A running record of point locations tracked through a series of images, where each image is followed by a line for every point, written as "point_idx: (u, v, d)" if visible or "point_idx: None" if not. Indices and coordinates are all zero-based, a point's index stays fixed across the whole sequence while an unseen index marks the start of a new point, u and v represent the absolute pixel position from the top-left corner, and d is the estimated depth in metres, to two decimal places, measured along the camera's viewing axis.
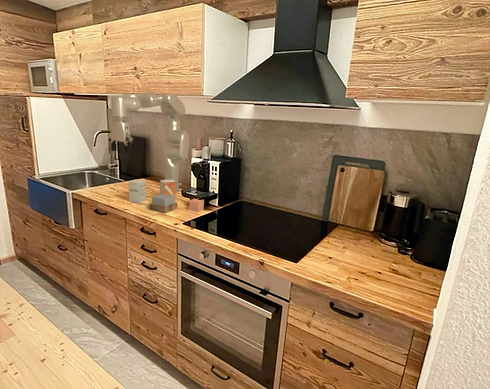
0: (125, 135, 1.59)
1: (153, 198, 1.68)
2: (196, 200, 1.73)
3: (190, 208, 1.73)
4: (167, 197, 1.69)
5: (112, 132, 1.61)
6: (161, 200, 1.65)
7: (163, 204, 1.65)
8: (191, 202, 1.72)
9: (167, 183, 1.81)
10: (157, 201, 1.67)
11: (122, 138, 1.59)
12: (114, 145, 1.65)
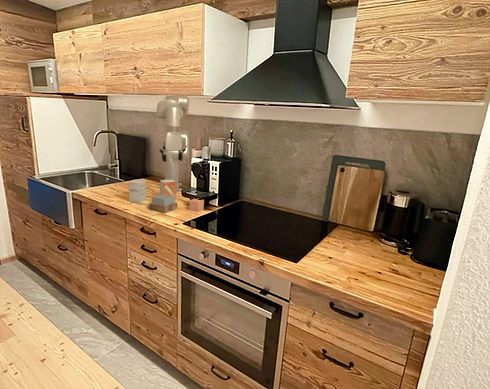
0: None
1: (153, 198, 1.68)
2: (196, 200, 1.73)
3: (190, 208, 1.73)
4: (167, 197, 1.69)
5: (169, 142, 1.60)
6: (161, 200, 1.65)
7: (163, 204, 1.65)
8: (191, 202, 1.72)
9: (167, 183, 1.81)
10: (157, 201, 1.67)
11: (180, 147, 1.65)
12: None
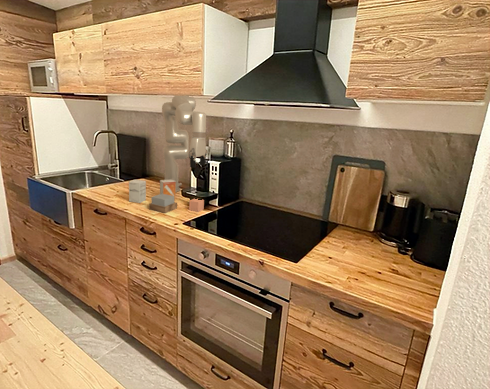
0: None
1: (153, 198, 1.68)
2: (196, 200, 1.73)
3: (190, 208, 1.73)
4: (167, 197, 1.69)
5: (198, 148, 1.62)
6: (161, 200, 1.66)
7: (163, 204, 1.66)
8: (191, 202, 1.72)
9: (167, 183, 1.81)
10: (157, 201, 1.67)
11: (205, 152, 1.69)
12: None
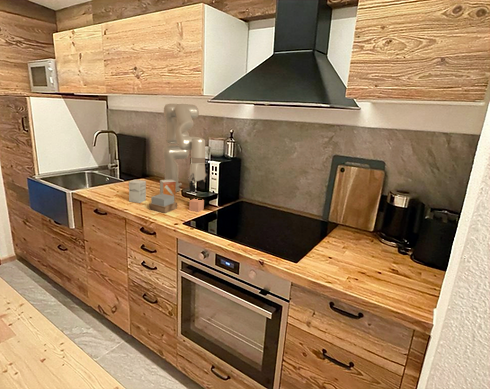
0: None
1: (152, 198, 1.68)
2: (196, 200, 1.73)
3: (190, 208, 1.73)
4: (166, 197, 1.69)
5: (198, 173, 1.65)
6: (160, 200, 1.66)
7: (162, 204, 1.66)
8: (191, 202, 1.72)
9: (167, 183, 1.81)
10: (156, 201, 1.67)
11: (204, 176, 1.72)
12: None
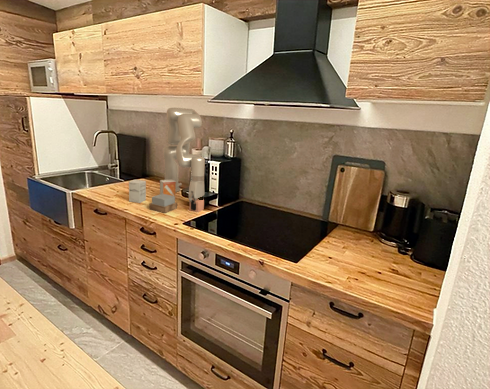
0: None
1: (153, 198, 1.68)
2: (196, 200, 1.73)
3: (190, 208, 1.73)
4: (167, 197, 1.69)
5: (197, 191, 1.68)
6: (161, 200, 1.65)
7: (163, 204, 1.65)
8: None
9: (167, 183, 1.81)
10: (157, 201, 1.67)
11: (203, 193, 1.75)
12: None
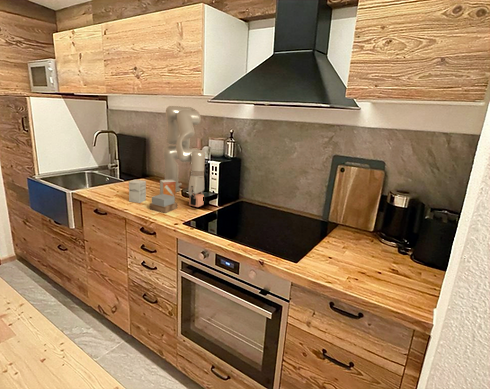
0: None
1: (153, 198, 1.68)
2: (196, 195, 1.72)
3: (190, 203, 1.72)
4: (167, 197, 1.69)
5: (197, 186, 1.68)
6: (160, 200, 1.65)
7: (162, 204, 1.65)
8: None
9: (167, 183, 1.81)
10: (157, 201, 1.67)
11: (203, 188, 1.74)
12: None
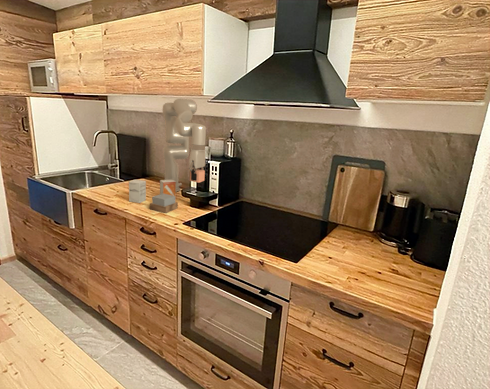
0: None
1: (153, 198, 1.68)
2: (197, 170, 1.69)
3: (190, 178, 1.68)
4: (167, 197, 1.69)
5: (198, 160, 1.64)
6: (161, 200, 1.66)
7: (163, 204, 1.66)
8: None
9: (167, 183, 1.81)
10: (157, 201, 1.67)
11: (204, 163, 1.71)
12: None
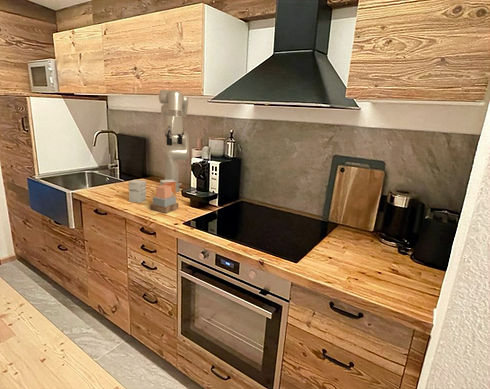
0: None
1: (154, 198, 1.68)
2: (163, 186, 1.68)
3: (157, 194, 1.68)
4: (168, 198, 1.68)
5: (174, 126, 1.65)
6: (161, 200, 1.65)
7: (163, 204, 1.65)
8: (158, 188, 1.67)
9: (167, 183, 1.81)
10: (157, 201, 1.67)
11: (181, 131, 1.72)
12: None
